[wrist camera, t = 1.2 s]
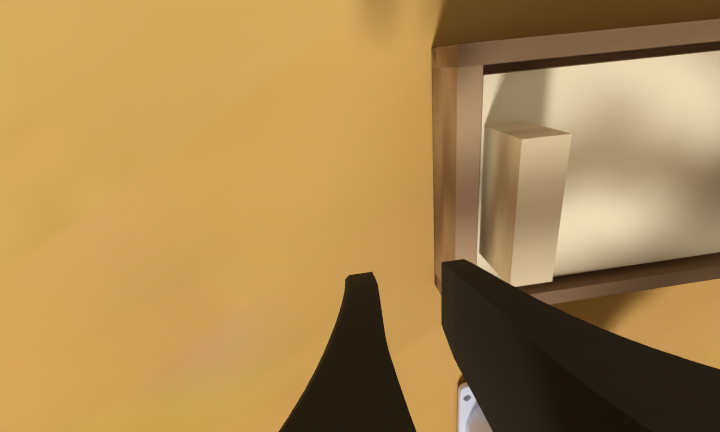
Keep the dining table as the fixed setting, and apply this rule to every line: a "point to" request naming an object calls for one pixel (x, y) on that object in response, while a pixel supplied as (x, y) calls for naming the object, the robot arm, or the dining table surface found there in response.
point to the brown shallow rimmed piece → (463, 134)
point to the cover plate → (599, 166)
